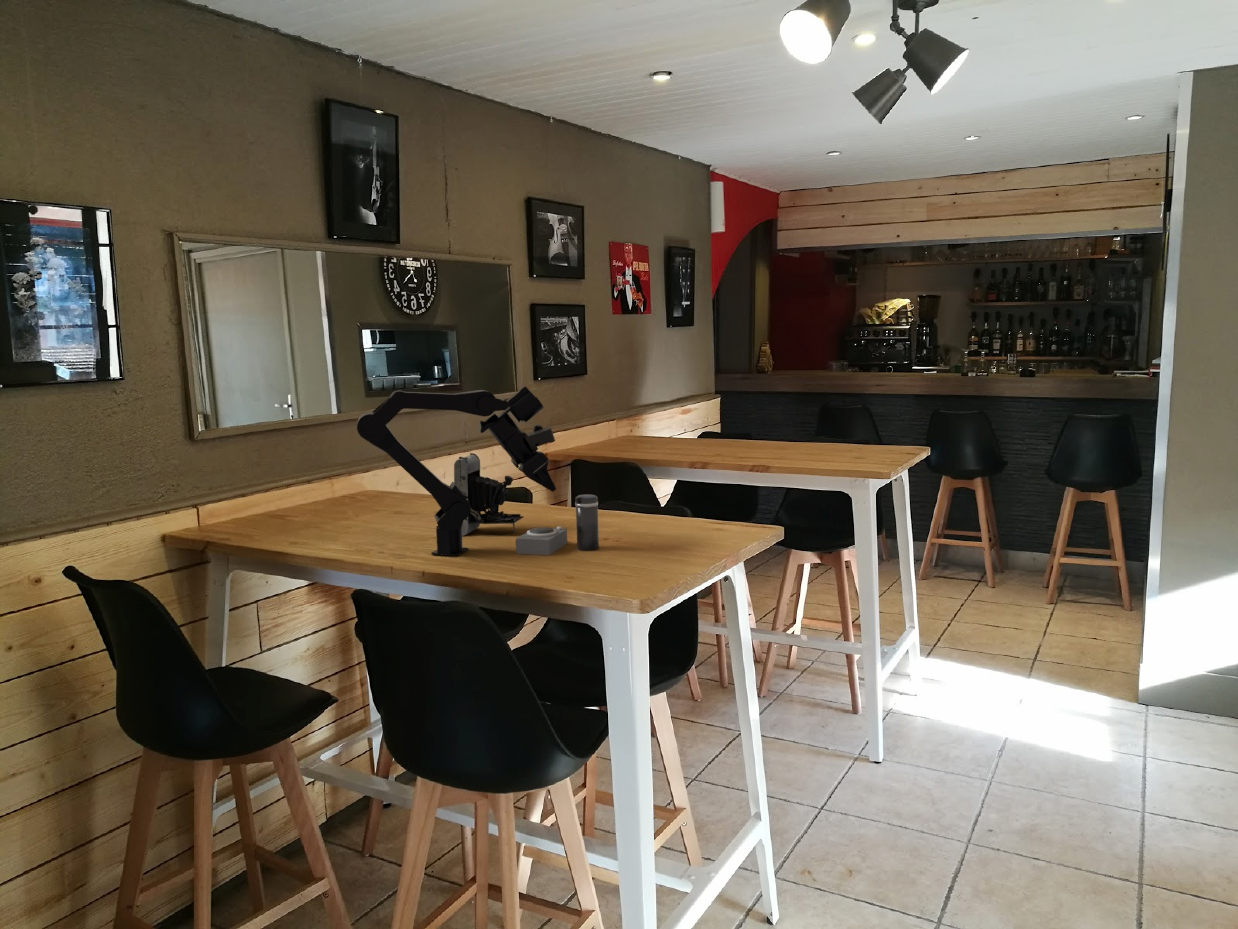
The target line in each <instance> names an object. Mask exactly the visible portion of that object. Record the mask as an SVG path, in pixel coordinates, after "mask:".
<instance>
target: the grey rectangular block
mask: <svg viewBox="0 0 1238 929" xmlns="http://www.w3.org/2000/svg"><path fill="white" fill-rule="evenodd" d="M567 544H568V529H567V528H563V526H556V528H555V527H554V528H553V527H545V526H544V527H541V526H540V527H534V528H531V529H528V530H527V531H526V532H525V533H523V534H522V535H520V536H518V537H516V538H515V553H516V555H532V556H533V555H535V556H551V555H552V554H554V553H555V552H557V551H558V550H560V549H562V548H563V547H565V545H567Z"/></svg>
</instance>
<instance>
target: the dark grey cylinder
mask: <svg viewBox="0 0 1238 929" xmlns="http://www.w3.org/2000/svg"><path fill="white" fill-rule="evenodd" d="M598 500H599V499H598V496H597V495H595V494H587V493H586V494H579V495H577V496H575V503H574V505H575V519H576V520H575V522H576V549H577V550H578V551H580V552H592V551H597V550H599V549H600V544H599V543H600V541H599V539H600V538H599V534H600V533H599V507H598V506H599V501H598Z"/></svg>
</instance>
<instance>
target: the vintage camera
mask: <svg viewBox="0 0 1238 929" xmlns="http://www.w3.org/2000/svg"><path fill="white" fill-rule="evenodd" d="M513 481H514V478H513V477H512V476H510V475H504V481H503V482H499V481H498V480H496V479H493V478H490V477H487V476H485V477H484V476H481V459H480V457H479V456H478V455H477V454H476V453H474V452H470V453H469V455H466V456H459V457H458V459H455V461H454V463H453V482H454V483H455V485H456V486H457V488H458V489H459V490H461V491H463V492H465V493H466V495H467V496H468V498H467V500H468V502H469V503H470V506H471V511H470V514H469V516H468V517H467V518H466V519H465V520H464V521H463V524H462V537H463V536H466V535H468V534H470V533H471V532H473V531H475V530H476V529H478V528H479V527H480V525H505V524H507V525H510V524H512V527H513V533H514V534H516V527H515V524H516V523H517V522H519V521H520V520H522V519H523V518H524V515H522V516H521V513H504V510H501V511H500V512H499V510H500V509H499V508H500V506H503V504H504V503H505V501H506V499H507V497H508V493H509V490H508V489H509V488H507V487H508V486H511V485H512V483H513ZM482 512H483V513H482Z"/></svg>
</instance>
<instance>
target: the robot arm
mask: <svg viewBox="0 0 1238 929" xmlns="http://www.w3.org/2000/svg"><path fill="white" fill-rule="evenodd" d="M544 408H545V407H544V405H543V404H542V402H541V401H540V400H539V399H538V397H537V396H535V395H534V393H532V391H530V390H529V388H528V387H527V386H525V385H523V386H522V387H521V388H519V389H518V391H517V392H516V393H515V394H513V395H512V396H510V397H509V398H508V399H507V400H506V399H505V398H497V397H496V396H495V395H494V393H492V392H490V391H487V390H485V389H484V390H483V389H478V390H476V389H475V390H469V391H463V392H456V393H442V392H417V391H403V390H395V391H393V392H392V393H391V394H390V396H388V397H387V399H386V400H384V401H383V402H382V403H381V404H379V405H378V406H377V407H376V408H375V409H374V410H373V411H371V412H370V411H369V412H368V411H367V412H365V413H363V414H362V415H360V417H359V418H358V419H357V424H356V431H357V433H358V435H359V436H360V437H361V438H362V439H363V440H365V441H366V442H369V443H370V444H371V445H372V446H374V447H376V448H378V449H379V450H382V451H383V452H385V453H386V454H387V455H388V456H390V458H391V459H392V460H394V461H395V463H397V464H398V465H399V466H400V467H402V469H403V470H404V471H405V472H406V473H407V474H408V475H410V477H411V478H413V479H414V480H415V481H416V482H417V483H418V484H419V485H420V486H422V488H424V489H425V490H426V491H427V492H428V493H429V494H430V495H431V496H432V498H433V500H435V502H436V503H437V504H438V506H439V507H440V508H439V510H437V512H436V513H435V514H434V515H433V517H434V519H435V521H436V524H437V526H436V527H435V529H436V532H435V533H436V550H434V551H432V552H431V556H446V557H447V556H450V557H457V556H460V555H462V554H463V553H465V552H467V551H469V550H470V549H469V547H466V546H465V547H464V546H463V536H462V524H463V521H464V520H465V519H466V518H467V517H468V516H469V514H470V511H471V506H470V503H469V502H468V500H467V498H468V496H467V495H466V493H465V492H463V491H461V490H459V489H458V488H457V486H456V485H455V483H454V481H452V482H451V483H450V485H449V484H446V483H444V482H443V481H442V480H441V479H439V478H438V477H437V476H436V475H435V473H433V472H432V471H431V470H430V469H429V468H428V467H427V466H426V465H425V464H424V463H423V462H422V461H420V460H419V459H418V458H417V457H416V455H414V454H413V453H412V452H411V451H410V450H408V449H407V448H406V446H404V445H403V444H402V443H401V441H399V440H398V438H397V437H396V436H395V435H394V433H393V431H392V430H391V429H390V427H389V426H388V424H389V423H390V422H391V421H392V420H393V419H394V418H395V417H396V416H397V415H398V414H399V413H400V412H401V411H402V410H405V409H411V410H434V411H435V410H436V411H437V410H439V411H457V412H460V413H465V414H470V415H475V416H480V417H488V418H487V419H485V420H481V419H480V420H479V421H478V422H479V423H478V424H479V427H478V432H479V433H481V434H483V433H485V432H486V431H489V432H490V434H492V435H491V436H493V437H494V439H495V440H496V441H497V442H498V443H499V445H500V446H501V447H502V449H503V450H504V451H505V452H506V453H507V454H508V456H509V457H510V458H511V459H510V462H511V463H512V464H513V466H514V467H515V468H516V469H517V470H519V471H520V472H522V473H523V475H524V476H525V477H527V478H528V479H530V480H531V481H532V482H535V483H536V484H538V485H540V486H542V487H543V488H546V489H547V490H549V491H550V492H555V491H556V490H557V487H556V486H555V483H554V481H553V479H552V477H551V474H550V473H549V470H548V465H549V463H550V462H549V458H548V457H547V456H546V454H545V452H542V451H538V450H539V448H538V447H540V446H543V445H546V444H551V443H554V442H555V441H556V439H555V436H554V433H553V430H552V428H551V427H549V426H545V427H542V426H541V425H540V424H537V425H534V426H533V427H532V431H531V432H529V433H526V432H525V431H523V430H521V428H520V427H519V426H518V425H517V423H520V422H523V423H524V424H526V423H527V422H529V421H530V420H531V419H532V418H534V417H535V416H536V415H537V414H538V413H540V412H541V411H542V410H543V409H544ZM499 411H502V412H501V413H499V414H496V413H495V412H499ZM509 413H510V415H511V416H512V417H513V419H514V420H515V421H516V422H517V423H516V422H515V421H514V420H513V419H512V418H511V416H510V415H509Z"/></svg>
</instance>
